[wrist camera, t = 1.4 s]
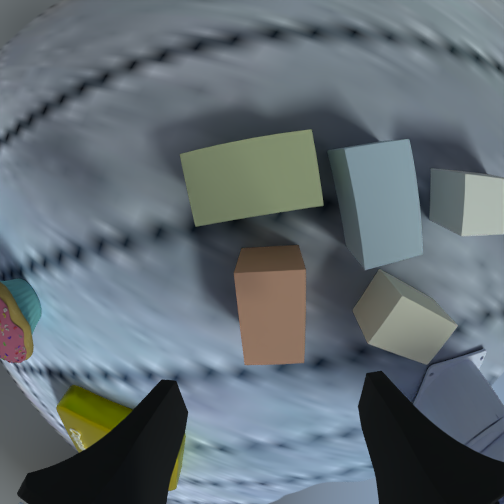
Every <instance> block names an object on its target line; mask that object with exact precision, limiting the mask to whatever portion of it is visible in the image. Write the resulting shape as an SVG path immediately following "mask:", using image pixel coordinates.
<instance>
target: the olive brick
mask: <svg viewBox="0 0 504 504" xmlns="http://www.w3.org/2000/svg"><path fill="white" fill-rule="evenodd" d="M180 158H181V163H182V168H183V173H184V178H185V182H186V187H187V192H188V196H189V201H190V205H191V210H192V214H193V218H194V223H195V227H197V226H202V225H208V224H213V223H219V222H224V221H230V220H236V219H242V218H248V217H254V216H260V215H266V214H272V213H278V212H285V211H291V210H298V209H304V208H311V207H318V206H324V205H323V197H322V190H321V183H320V176H319V170H318V163H317V157H316V151H315V145H314V140H313V134H312V129H311V130H302V131H295V132H287V133H280V134H274V135H268V136H262V137H256V138H250V139H245V140H240V141H235V142H230V143H225V144H220V145H216V146H211V147H207V148H202V149H198V150H194V151H190V152H186V153H182V154H180Z"/></svg>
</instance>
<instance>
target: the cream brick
mask: <svg viewBox="0 0 504 504" xmlns="http://www.w3.org/2000/svg"><path fill="white" fill-rule="evenodd" d="M352 311H353V313H354V315H355V317H356V320H357V322H358V324H359V326H360V328H361V330H362V332H363V334H364V337H365V339H366V341H367V343H368V344H370V345H373V346H375V347H378V348H381V349H383V350H386V351H389V352H392V353H394V354H397V355H400V356H403V357H406V358H409V359H411V360H414V361H417V362H420V363H423V364H426V365H428V364H429V362H430V361H431V360H432V359H433V358H434V356H435V355H436V354H437V353H438V351H439V350H440V349H441V348H442V346H443V345H444V344H445V343H446V341H447V340H448V339H449V337H450V336H451V335H452V333H453V332H454V330H455V329H456V328H457V326H458V325H457V324H456V323H455V322H454V321H453V320H452V319H451V318H450V316H449V315H448V314H447V313H446V312H445V311H444V310H443V309H442V308H441V307H440V306H439V305H438V304H437V303H436V302H435V300H434V299H432V298H430V297H429V296H427V295H425V294H423V293H422V292H420V291H418V290H416V289H415V288H413V287H411V286H409V285H408V284H406V283H404V282H402V281H401V280H399V279H397V278H395V277H393V276H392V275H390V274H388V273H386V272H384V271H382V270H381V269H379V270H378V271H377V273H376V275H375V276H374V278H373V280H372V281H371V283H370V284H369V286H368V287H367V289H366V290H365V292H364V293H363V295H362V297H361V298H360V300H359V301H358V302H357V304H356V305H355V307H354V308H353V310H352Z"/></svg>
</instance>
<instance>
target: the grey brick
mask: <svg viewBox="0 0 504 504" xmlns="http://www.w3.org/2000/svg"><path fill="white" fill-rule="evenodd" d="M429 220H430V221H432V222H434V223H436V224H438V225H440V226H442V227H444V228H446V229H448V230H450V231H452V232H454V233H456V234H458V235H460V236H478V235H498V234H504V178H503V177H499V176H494V175H489V174H482V173H474V172H466V171H457V170H446V169H434V168H431V188H430V214H429Z"/></svg>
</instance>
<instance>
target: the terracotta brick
mask: <svg viewBox="0 0 504 504" xmlns="http://www.w3.org/2000/svg"><path fill="white" fill-rule="evenodd" d="M234 279H235V288H236V297H237V306H238V314H239V322H240V331H241V339H242V347H243V355H244V362H245V365H270V364H292V363H304V353H305V319H306V268H305V265H304V262H303V258H302V255H301V252H300V249H299V245H289V246H270V247H252V248H241V251H240V255H239V258H238V261H237V264H236V268H235V271H234Z"/></svg>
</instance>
